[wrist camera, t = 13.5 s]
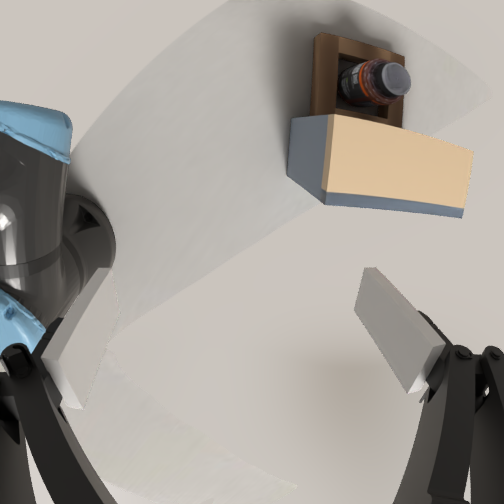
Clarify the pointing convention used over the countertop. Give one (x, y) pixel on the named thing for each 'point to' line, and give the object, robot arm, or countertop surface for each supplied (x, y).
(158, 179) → the countertop surface
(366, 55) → the socket
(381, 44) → the countertop surface
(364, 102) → the supplement bottle
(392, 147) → the blue open cabinet
